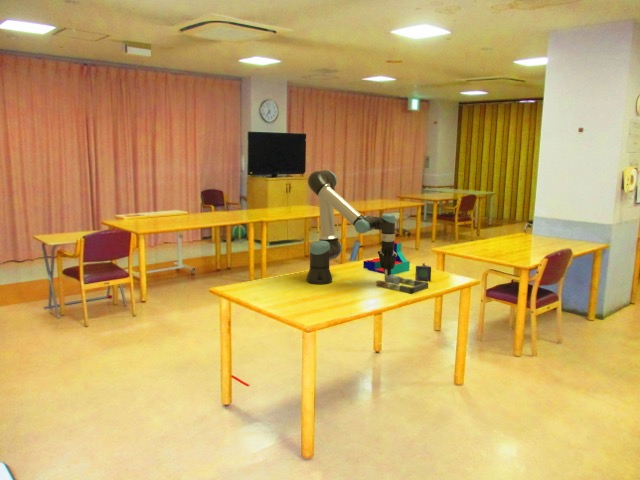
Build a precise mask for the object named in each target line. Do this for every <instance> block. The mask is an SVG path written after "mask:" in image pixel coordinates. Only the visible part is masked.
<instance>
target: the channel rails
mask: <svg viewBox="0 0 640 480" xmlns="http://www.w3.org/2000/svg"><path fill="white" fill-rule="evenodd" d="M414 281H416V280H415V279H413V278H407V277H402V276H400V279H399V285H398V284H394V283H389V282H385V280H384V281H383V280H379V279H378V280H376V282H375V283H376V284H375V285H376V287H378V288H379V287H380V288H384V289H388V290H393V291H396V292H397V291H398V292H401V291H400V286H401V285H402V284H403V285H406V286H411V287H414Z"/></svg>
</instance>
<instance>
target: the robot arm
mask: <svg viewBox="0 0 640 480" xmlns="http://www.w3.org/2000/svg"><path fill="white" fill-rule="evenodd" d="M337 183H338V180H337V176H336V174H335V173H334V172H332V171H331V170H327V169H323V170H317V171H313V172H312V173H310V175H309V176H308V177H307V186H308V187H309V189H310V190H311V191H312V192H313V193H314V194H315V195H316V196H317V198H318V199H317V200H318V207H319V208H318V210H319V220H320V221H319V222H320V234H321V235H320V237H319V238H318V240H315V241H312V242H311V243H310V245H309V270H308V274H307V275H306V282H307V283H309V284H312V283H313V285H326V284H331V283H332V282H333V277H332V274H331V270H330V262H331V260H335V259H337V258H338V257H339V256H340V255H341V252H342V250H343V247H342V243H341V242H340V241H339V236H338V235H337V234H336V226H335V225H336V224H335V211H334V210H336V211H337V212H339V214H341V216H342V217H344V218H345V219H346V220H347V221H349V223H351V224H352V225H353V227H354V229H355V232H357V233H358V234H365V233H367V232H370V231H372V230H378V231H381V245H380V246H381V249H380V250H378V251H377V254H378V258H379V259H380V264H381V268H383V269H384V274H383V275H384V277H385V276H389V275H390V274H391V269H393V268H394V265H395V261H396V257H397V256H398V254H397V253H395V252H394V243H395V239H396V237H395V236H396V234H395V233H396V215H395V214H393V213H382V215H381V216H372V215H371V216H370V215H362V214H361V213H360V211H358V210H357V209H356V208H355V207H354V206H352V204H351V203H349V202H348V201H347V200H346V199H345V198H344V197H342V195H340V194H339V193H338V192H337V191H336V189H335V187H336V186H337ZM392 255H393V257H392ZM391 258H392V261H391Z"/></svg>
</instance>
